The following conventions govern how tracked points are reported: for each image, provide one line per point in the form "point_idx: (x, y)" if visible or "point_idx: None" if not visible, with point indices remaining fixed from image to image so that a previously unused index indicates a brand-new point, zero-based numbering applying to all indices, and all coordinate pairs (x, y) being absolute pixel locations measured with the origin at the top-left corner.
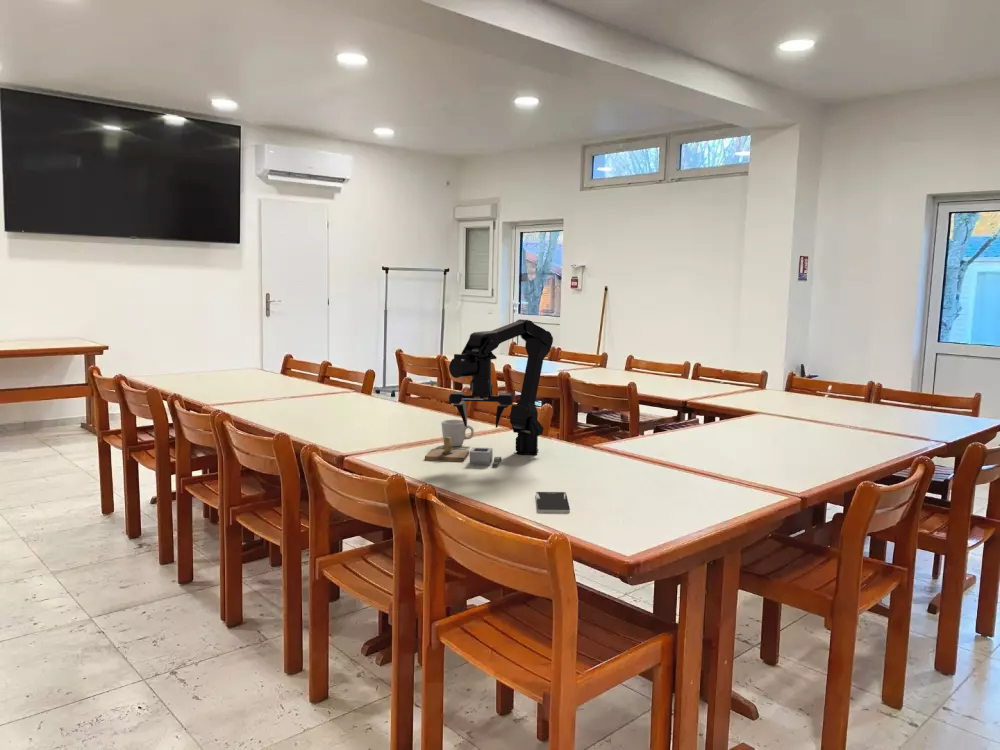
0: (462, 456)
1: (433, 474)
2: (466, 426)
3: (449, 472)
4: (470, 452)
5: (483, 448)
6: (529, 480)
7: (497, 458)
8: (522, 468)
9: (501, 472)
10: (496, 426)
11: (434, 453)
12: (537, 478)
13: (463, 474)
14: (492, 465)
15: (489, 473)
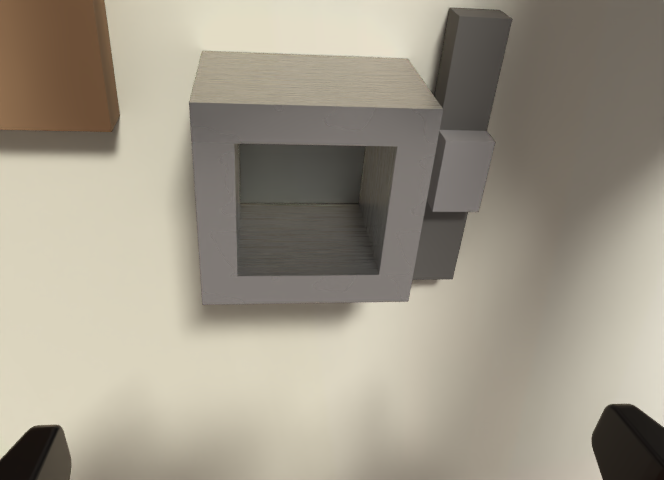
0: (79, 82)
1: None
2: (70, 469)
3: (118, 415)
4: (212, 301)
5: (332, 143)
6: None
7: (466, 205)
8: (628, 262)
9: (465, 367)
10: (609, 462)
11: None
12: None
13: (224, 435)
14: None
15: (387, 395)
